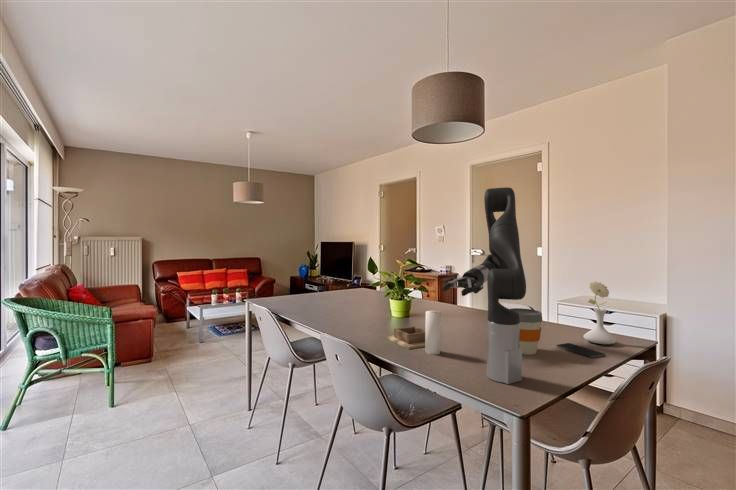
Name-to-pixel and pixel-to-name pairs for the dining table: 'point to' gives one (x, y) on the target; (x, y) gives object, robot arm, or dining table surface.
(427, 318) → the paper towel roll
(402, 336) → the open wooden box
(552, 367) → the dining table surface
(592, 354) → the phone
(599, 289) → the flower in vase
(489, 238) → the robot arm
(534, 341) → the reusable coffee cup
